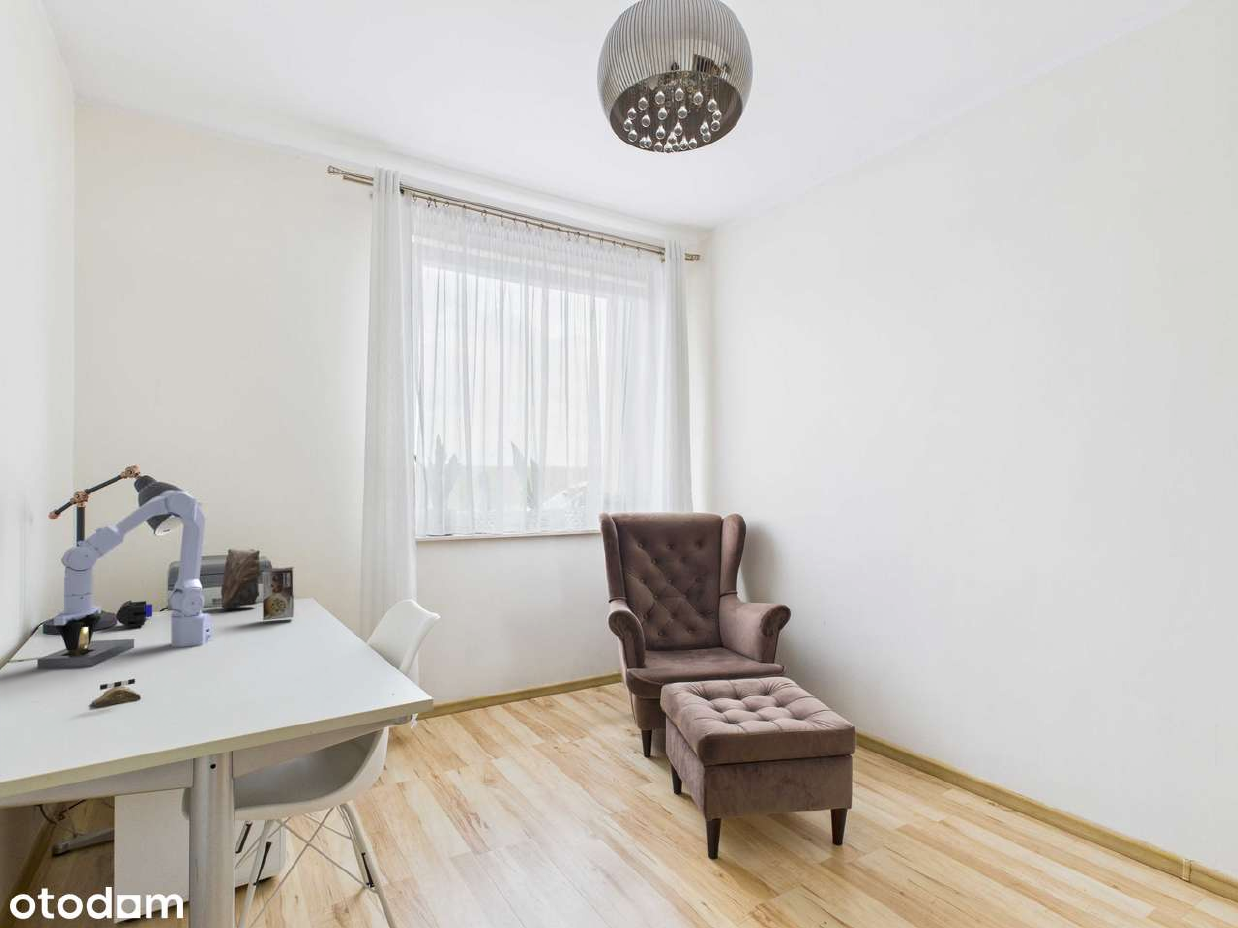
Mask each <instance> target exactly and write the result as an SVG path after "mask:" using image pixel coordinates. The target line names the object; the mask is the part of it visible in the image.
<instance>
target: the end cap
mask: <svg viewBox="0 0 1238 928" xmlns="http://www.w3.org/2000/svg"><path fill="white" fill-rule="evenodd" d="M146 605H147V601H145V600H143V601H133V602H132V600H128V601H125V602H124V603H123V604H121V606H120V608H119V609H118V610H117V612H116V615H115V617H116V620H117V622H118V623H119V624H121V625H123V626H125V627H128V628H129V627H137V626H138V627H139V626H144V625H145V623H146V622H147V617H146V611H144V607H146Z"/></svg>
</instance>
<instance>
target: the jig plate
mask: <svg viewBox="0 0 1238 928" xmlns="http://www.w3.org/2000/svg"><path fill="white" fill-rule="evenodd" d="M132 649H135V638H129V639H128V638H127V639H126V638H124V639H120V638H119V639H102V640H101V639H100V640H99V639H98V640H91V641H90V644H89V645H88V653H87V654H84V655H72V656H68V650H67V649H66V648H63V649H61V650H58V651H55V652H53V653H50V654H48V655H46V656H42V657H41V658H40V657H39V658H37V666H36V667H37V670H43V669H44V670H45V669H64V668H65V669H66V668H67V669H68V668H69V669H70V668H71V669H72V668H90V667H91V668H92V667H94V666H96V665H98V664H100V663H103V662H105V661H107V660H110V659H112V658H114V657H117V656H118V655H121V654H123V653H125V652H127V651H130V650H132ZM41 668H42V669H41Z"/></svg>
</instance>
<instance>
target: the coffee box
mask: <svg viewBox="0 0 1238 928" xmlns="http://www.w3.org/2000/svg"><path fill="white" fill-rule="evenodd" d="M294 568H295V567H294V566H291V567H290V566H289V567H276V568H275V567H274V568H273V567H272V568H264V570H263V571H262V599H263V601H262V605H263V606H262V610H263V611H262V613H263V614H262V615H263V619H262V620H263V621H268V620H278V619H289V618H290V619H291V618H294V617H295V584H294V583H295V577H294V573H295V570H294Z"/></svg>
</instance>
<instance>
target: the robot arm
mask: <svg viewBox="0 0 1238 928" xmlns="http://www.w3.org/2000/svg"><path fill="white" fill-rule="evenodd" d="M168 514H169V515H172V516H174V518H176V519H177V520H178V521H179V522H180V523H181V524H182V525H183V527H182V534H181V535H182V536H181V546H180V556H179V565H178V575H177V580H176V582H175V584H174V587H173V591H172V593H171V594H170V596H169V599H168V604H169V606H170V607H171V609H172V613H171V614H170V615H171V618H170V619H171V622H170V623H171V626H170V628H171V629H170V630H171V633H170V634H171V636H170V637H171V641H170V642H171V646H172V647H176V648H177V647H188V646H204V645H206V644H208V643H210V642H214V640H215V639H213V624H214V623H213V617H212V614H210V613H203V608H204V607H205V603H206V600H205V597H204V595H203V586H202V583H201V580H200V577H201V567H202V559H203V557H202V555H203V549H204V548H203V547H204V538H205V537H204V535H205V525H206V517H205V515H204V512H203V511H202V509H201V508H200V506H199V504H198V500H197V498H196V497H195V496H193V495H191V493H189V492H187V491H186V490H185V491H184V490H171V489H170V490H165V491H163V492H162V493H160V494H159V495H155V496H154V497H152V498H151V499H149V500H148V501H147V502H145V503H144V504H142V505H141V506H140V507H138V508H137V509H136V510H134V511H132V512H131V513H130V514H129V515H127V516H126V517H125V518H124V519H122V520H120V521H119V522H118V523H116V524H115V525H105V526H103V527H101V526H99V527H98V528H96V529H95V531H94V532H95V533H93V534H91V535H90V536H89V537H87V538H86V539H84V540H83V541H82V540H79V541H78V542H77V543H76V544H77V545H78V546H73V547H70V548H69V549H66V551H65V552H64V553H63V555H62V557H61V559H60V561H61V563H62V565H63V566H64V577H63V611H60V612H58V616H56V617H54V618H53V625H54V626H55V629H56V630H57V631H58V632H59V634H60V636H61V637H62V640H63V643H64V646H65V649H67V650H77V649H78V645H79V637H80V633H81V630H82V627H83V626H89V642H88V645H89V644H90V641H92V637H93V633H94V631H95V628H96V626H97V625H98V623H99V622H100V620H101V615H99V614H101V613H102V612H101V611H102V609H101V608H102V607H101V605H94V598H93V597H94V575H93V567H94V566H95V564H96V562H97V559H100V558H102V557H103V556H106V554H108V553H109V552H110V551H112V550H114V549H115V548H116V547H118V546H119V545H120V544H122V543H123V542H124V537H125V535H126V534H128V533H129V532H131V531H132V530H134V529H136V528H137V527H139V526H140V525H142V524H143V523H145V522H147V520H149V519H151V518H152V517H155V516H162V515H163V516H164V515H168ZM97 614H98V615H97Z"/></svg>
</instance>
